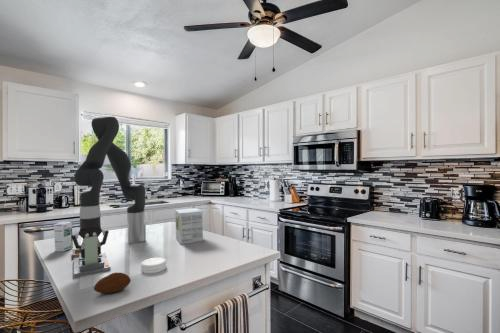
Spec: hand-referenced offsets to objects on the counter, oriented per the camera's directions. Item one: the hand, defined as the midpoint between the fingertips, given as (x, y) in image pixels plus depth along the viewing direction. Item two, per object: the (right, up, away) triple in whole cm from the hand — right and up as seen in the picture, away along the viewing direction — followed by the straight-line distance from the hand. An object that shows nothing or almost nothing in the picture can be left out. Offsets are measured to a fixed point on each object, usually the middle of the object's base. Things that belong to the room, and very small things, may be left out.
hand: (91, 256), depth 114 cm
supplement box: (+32, -5, +43) cm, 54 cm away
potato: (+19, -6, -20) cm, 28 cm away
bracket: (-15, -6, +21) cm, 27 cm away
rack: (-3, -6, +5) cm, 8 cm away
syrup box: (-32, -6, +29) cm, 44 cm away
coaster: (+26, -6, 0) cm, 27 cm away
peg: (0, -3, 0) cm, 3 cm away
